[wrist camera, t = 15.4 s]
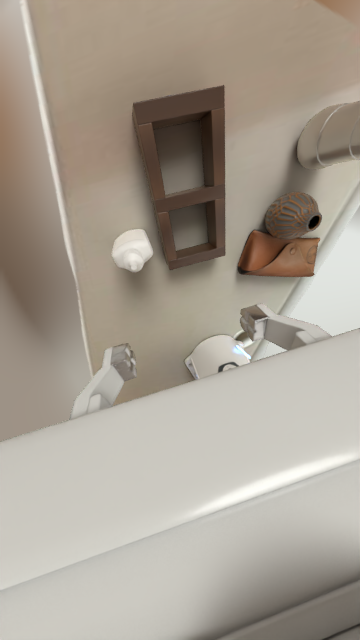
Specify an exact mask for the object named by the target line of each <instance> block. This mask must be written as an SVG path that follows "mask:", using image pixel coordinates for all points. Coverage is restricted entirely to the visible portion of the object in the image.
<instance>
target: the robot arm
mask: <svg viewBox="0 0 360 640" xmlns="http://www.w3.org/2000/svg"><path fill="white" fill-rule="evenodd" d="M240 314H241V315H242V317H241V318H240V323H241V327H242V328H243V330H244V331H246V332H248V336H249V337H250V339H251V340H252V341H256V340H260V339H263V338H264V339H266V340H268V341H270V342H272V343H274V344H276V345H278V346H280V347H282V348H284V349H286V350H288V351H285V352H282V353H279V354H276V355H273V356H269V357H266V358H263V359H260V360H257V361H253V362H250V361H249V360H248V358H250V356H249V355H248V354H246V353H245V352H244V351H243V348H244V343H243V342H241V341H236V340H235V339H234V338H232V337H230V336H227V335H217V336H213V337H210V338H208V339H206V340H204V341H203V342H201V343H200V344H199V345H198V346H197V347H196V348H195V349H194V351H193V352H192V354H191V355H190V356H188V357H187V358H186V359H185V361H184V362H185V364H186V366H187V367H188V369H189V370H190V372H191V374H192V375H193V377H194V378H195V380H193V381H190V382H187V383H184V384H181V385H178V386H174V387H171V388H168V389H165V390H162V391H159V392H155V393H152V394H149V395H146V396H143V397H140V398H136V399H133V400H130V401H127V402H124V403H121V404H118V405H114V406H112V405H113V403H114V401H115V400H116V398H117V396H118V394H119V392H120V390H121V388H122V386H123V384H124V381H127V380H130V379H133V378H136V377H137V374H136V368H135V365H136V358H135V355H134V352H133V351H132V350H130V345H129V343H126V344H122V345H118V346H114V347H111V348H108V349H106V350H105V352H104V358H103V364H102V368H101V369H99V370H98V372H97V373H96V374H95V375H94V377H93V378H92V379H91V381H90V382H89V383H88V384H87V386H86V387H85V388H84V389H83V390H82V392H81V393H80V394H79V395H78V397H77V398H76V399H75V400H74V404H73V407H72V411H71V415H70V419H69V420H67V421H64V422H61V423H58V424H54V425H51V426H48V427H45V428H42V429H39V430H36V431H33V432H29V433H26V434H23V435H20V436H16V437H13V438H10V439H6V440H3V441H0V640H360V328H358V329H355V330H351V331H348V332H346V333H342V334H339V335H336V336H333V337H332V336H331V335H330V334H328V333H327V332H326V331H324V330H323V329H321V328H320V327H319V326H317V325H314V324H311V323H307V322H303V321H300V320H296V319H293V318H289V317H285V316H282V315H276V314H275V313H274V312H273V311H272V310H270V309H269V308H268V307H267V306H266V305H265V304H263V303H260V304H257V305H254V306H250V307H247V308H244V309H241V313H240ZM247 357H248V358H247Z"/></svg>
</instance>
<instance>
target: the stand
mask: <svg viewBox="0 0 360 640" xmlns="http://www.w3.org/2000/svg"><path fill="white" fill-rule="evenodd" d="M132 116H133V121H134V125H135V129H136V133H137V138H138V142H139V147H140V151H141V155H142V160H143V164H144V168H145V173H146V177H147V181H148V186H149V190H150V194H151V198H152V203H153V207H154V212H155V216H156V220H157V225H158V229H159V233H160V238H161V242H162V246H163V251H164V255H165V259H166V263H167V265H168V267H169V269H170V270H173V269H176V268H180V267H184V266H187V265H191V264H195V263H199V262H202V261H206V260H210V259H214V258H217V257H221V256H225V110H224V85H223V86H217V87H212V88H207V89H202V90H197V91H192V92H187V93H182V94H176V95H171V96H166V97H161V98H156V99H151V100H146V101H140V102H135V103H133V110H132ZM196 120H200V122H201V137H202V152H203V168H204V183H205V186H202V187H198V188H193V189H189V190H185V191H181V192H176V193H172V194H168V195H165V191H164V185H163V180H162V175H161V169H160V164H159V159H158V153H157V148H156V142H155V137H154V132H153V129H158V128H162V127H167V126H172V125H177V124H182V123H187V122H191V121H196ZM203 202H206V213H207V228H208V242H209V243H205V244H201V245H197V246H193V247H190V248H186V249H182V250H178V251H176V250H175V245H174V239H173V234H172V228H171V223H170V218H169V212H168V211H171V210H175V209H179V208H183V207H187V206H191V205H195V204H199V203H203Z"/></svg>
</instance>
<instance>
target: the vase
mask: <svg viewBox="0 0 360 640" xmlns="http://www.w3.org/2000/svg"><path fill="white" fill-rule="evenodd" d="M321 220H322V215H321V214H320V213H319V210H318V205H317V203H316V201H315V200H314V199H313V198H312V197H311V196H310V195H308V194H305V193H300V192H294V193H288V194H285V195H283V196H281V197H280V198H278V199H277V200H275V201H274V202H273V204H272V205H271V206H270V208H269V209H268V211H267V214H266V218H265V225H266V228H267V230H268V232H269V233H270V234H271V235H272V236H274V237H276V238H278V239H283V240H290V239H295V238H298V237H300V236H302V235H304V234H306V233H307V232H310V231H313V230H315V229H316V228H317V227H318V226H319V225H320V223H321Z"/></svg>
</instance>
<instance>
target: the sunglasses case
mask: <svg viewBox="0 0 360 640" xmlns="http://www.w3.org/2000/svg"><path fill="white" fill-rule="evenodd" d="M319 241H320V238H295V239H290V240H283V239H278V238H276V237H274V236H272V235H271V234H268V233H264V232H260V231H256V230H253V231H252V232H251V234H250V235H249V237H248V240H247V242H246V244H245V247H244V249H243V252H242V254H241V257H240V260H239V263H238V271H239V273H240V274H242V275H256V276H280V277H311V276H313V275H314V273H313V271H314V265H315V259H316V253H317V247H318V242H319Z"/></svg>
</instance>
